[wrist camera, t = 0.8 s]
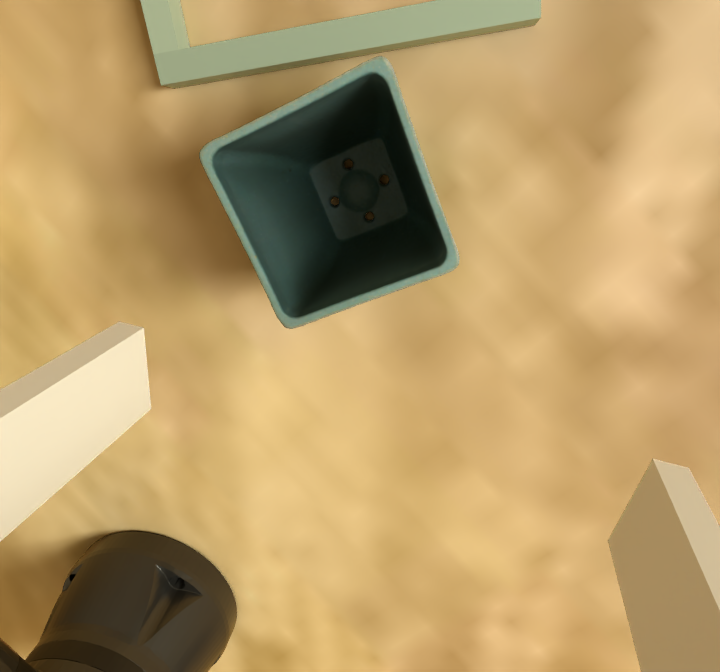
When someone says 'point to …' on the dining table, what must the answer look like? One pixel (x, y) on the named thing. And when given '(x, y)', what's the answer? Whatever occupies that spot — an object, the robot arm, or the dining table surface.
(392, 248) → the flower pot
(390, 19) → the bay
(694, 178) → the dining table surface
